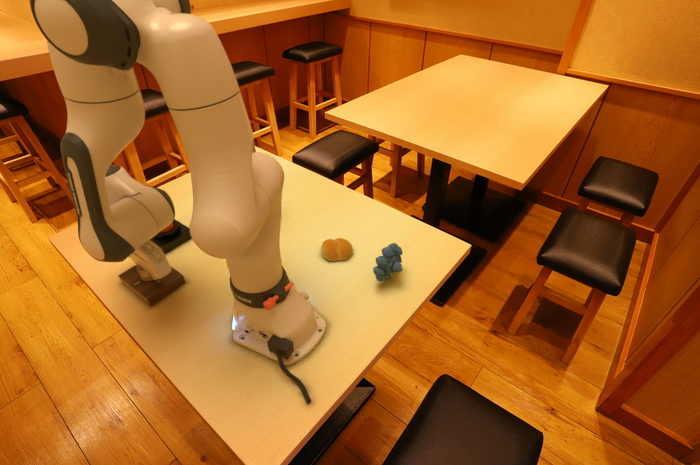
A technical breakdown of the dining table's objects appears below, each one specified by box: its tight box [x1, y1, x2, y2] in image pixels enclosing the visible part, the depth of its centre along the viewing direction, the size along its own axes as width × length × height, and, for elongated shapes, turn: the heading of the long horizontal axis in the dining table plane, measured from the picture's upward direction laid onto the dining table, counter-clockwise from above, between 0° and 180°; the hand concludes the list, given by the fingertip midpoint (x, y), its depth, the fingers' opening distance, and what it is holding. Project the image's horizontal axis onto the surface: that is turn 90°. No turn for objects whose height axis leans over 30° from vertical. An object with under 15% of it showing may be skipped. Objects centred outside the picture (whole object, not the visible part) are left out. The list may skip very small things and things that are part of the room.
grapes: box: [372, 242, 403, 282], centre depth 96 cm, size 12×7×12 cm, turn 141°
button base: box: [150, 218, 193, 255], centre depth 110 cm, size 11×10×4 cm
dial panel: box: [117, 264, 186, 308], centre depth 97 cm, size 13×10×3 cm
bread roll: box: [320, 237, 353, 262], centre depth 107 cm, size 8×9×4 cm
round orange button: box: [160, 222, 174, 233], centre depth 109 cm, size 5×5×2 cm
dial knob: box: [136, 264, 153, 281], centre depth 95 cm, size 4×4×4 cm
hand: (149, 272), depth 95 cm, fingers closed on dial knob, 4 cm apart
